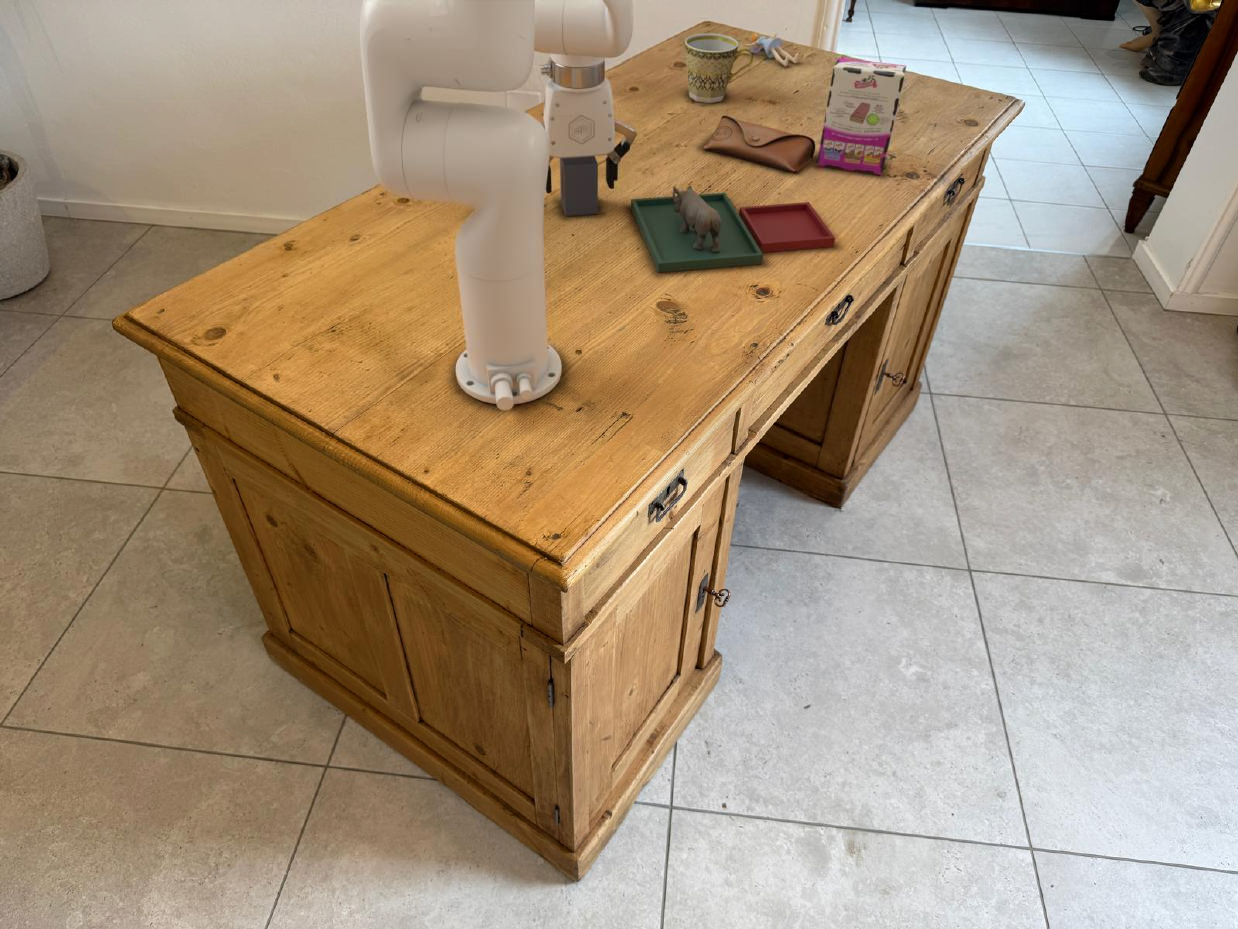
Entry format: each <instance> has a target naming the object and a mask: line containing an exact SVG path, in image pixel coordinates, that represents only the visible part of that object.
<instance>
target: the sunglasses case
mask: <svg viewBox="0 0 1238 929" xmlns="http://www.w3.org/2000/svg"><path fill="white" fill-rule="evenodd" d="M702 149H703V150H705V151H706V150H707V151H712V152H717V153H721V154H724V155H728V156H730V157H735V158H738V159H742V160H745V161H749V162H752V163H756V164H759V165H762V166H765V167H769V168H774V169H778V170H783V171H789V172H794V173H795V172H799V171H800V170H801V171H802V169H804V168H805V167H807V165H809V164H810V163H811V162H812V161H813V158H814V155H815V152H816V142H815V140H814V138H812V137H810V136H808V135H804V134H799V133H798V134H797V133H791V132H788V131H783V130H780V129H777V128H773V127H769V126H766V125H762V124H758V123H754V122H753V123H752V122H748V121H745V120H740V119H737V118H735V117H733V116H729V115H722V116H721V118H720V120H719V122H718V125H717V126H716V127H715V130H714V132H713V133H712V135H711V137H710V139H709V140H708V142H707V144H706V145H704V146H703V147H702Z"/></svg>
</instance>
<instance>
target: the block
mask: <svg viewBox="0 0 1238 929" xmlns="http://www.w3.org/2000/svg"><path fill="white" fill-rule="evenodd" d="M559 176H560V177H559V179H560V180H559V181H560V184H559V185H560V203H561V205H562V209H563V212H564V216H565V217H571V216H572V217H573V216H587V215H597V214H598V212H599V211H598V209H599V163H598V161H597V158H596V156H588V157H573V158H559Z"/></svg>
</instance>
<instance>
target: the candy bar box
mask: <svg viewBox="0 0 1238 929" xmlns="http://www.w3.org/2000/svg"><path fill="white" fill-rule="evenodd" d="M906 70H907V65H905V64H895V63H887V62H881V61H880V62H879V61H871V60H870V61H869V60H863V59H862V60H860V59H852V58H844V57H837V59H836V61H835V63H834V65H833V69H832V74H831V79H830V85H829V92H828V98H827V103H826V110H825V114H824V120H823V126H822V132H821V138H820V142H819V143H820V144H819V148H818V153H817V159H816V166H817V167H821V168H829V169H835V170H842V171H850V172H856V173H864V174H871V175H877V176H881V175H883V172H884V168H885V164H886V161H887V156H888V152H889V147H890V143H891V139H892V135H893V130H894V125H895V122H896V117H897V114H898V113H897V112H898V108H899V104H900V99H901V95H902V91H903V90H902V89H903V85H904V81H905V75H906Z"/></svg>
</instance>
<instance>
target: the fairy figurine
mask: <svg viewBox="0 0 1238 929" xmlns="http://www.w3.org/2000/svg"><path fill="white" fill-rule="evenodd" d="M778 34H779V33H775V34H774V35H773V36H771V37H769V38H767V36H765V35H763V36H762V35H758V34H757V33H752V34H751V37H750V40H751V43H745V42H741V47H748V48H750V47H754V49H750V50H749V51H750V52H751V53H758V52H760V51H761V50H764V52H765V54H766V57H767V58H768V59H773V58H774V59H775V60H776V61H777V62H779V63H780V64H782V65H783V67H788V64H789V61H791V62H792V63H794V64H797V63H798V61H799V56H800V54H799V53H798V52H797V53H796V54H795V56H794V57H793V56H791V54H789V53H788V52H787V51H785V50H783V48H782V45H783V42H782V39H781V38H780V37H778ZM779 54H780V55H779ZM781 56H782V57H783V58H784V59H783V58H782V57H781Z"/></svg>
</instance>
